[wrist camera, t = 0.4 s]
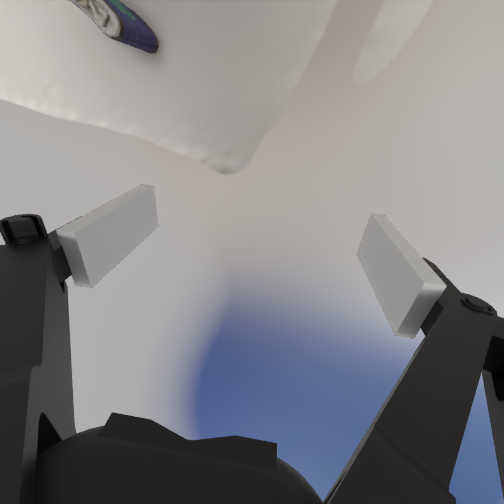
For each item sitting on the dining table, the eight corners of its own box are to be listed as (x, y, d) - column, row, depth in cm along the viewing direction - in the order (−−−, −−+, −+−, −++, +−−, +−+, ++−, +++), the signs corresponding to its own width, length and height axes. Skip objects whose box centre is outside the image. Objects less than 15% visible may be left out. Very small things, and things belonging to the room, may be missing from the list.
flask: (93, 7, 33) (18, -33, 24) (100, -18, 32) (24, -72, 22) (154, 59, 35) (107, 41, 26) (163, 37, 34) (118, 10, 24)
